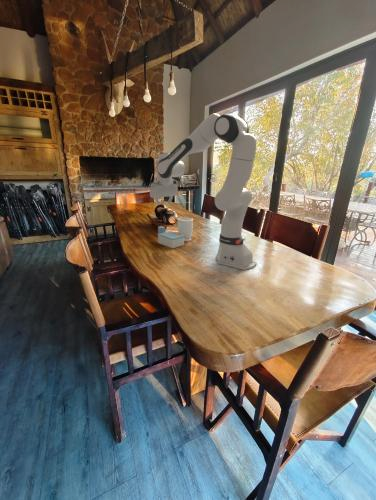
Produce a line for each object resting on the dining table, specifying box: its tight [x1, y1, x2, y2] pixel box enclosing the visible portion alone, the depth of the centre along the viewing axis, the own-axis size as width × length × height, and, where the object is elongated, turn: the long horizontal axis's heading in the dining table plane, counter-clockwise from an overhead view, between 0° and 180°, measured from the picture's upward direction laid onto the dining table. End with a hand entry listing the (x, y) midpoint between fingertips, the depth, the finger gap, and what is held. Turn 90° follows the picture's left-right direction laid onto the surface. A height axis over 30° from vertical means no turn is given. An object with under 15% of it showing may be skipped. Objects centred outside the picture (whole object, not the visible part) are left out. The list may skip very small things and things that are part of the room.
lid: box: [157, 225, 185, 240], centre depth 153 cm, size 19×11×4 cm, turn 47°
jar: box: [177, 216, 194, 242], centre depth 162 cm, size 11×10×15 cm
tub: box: [157, 235, 185, 249], centre depth 153 cm, size 14×10×6 cm
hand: (163, 203), depth 151 cm, fingers open, 8 cm apart
